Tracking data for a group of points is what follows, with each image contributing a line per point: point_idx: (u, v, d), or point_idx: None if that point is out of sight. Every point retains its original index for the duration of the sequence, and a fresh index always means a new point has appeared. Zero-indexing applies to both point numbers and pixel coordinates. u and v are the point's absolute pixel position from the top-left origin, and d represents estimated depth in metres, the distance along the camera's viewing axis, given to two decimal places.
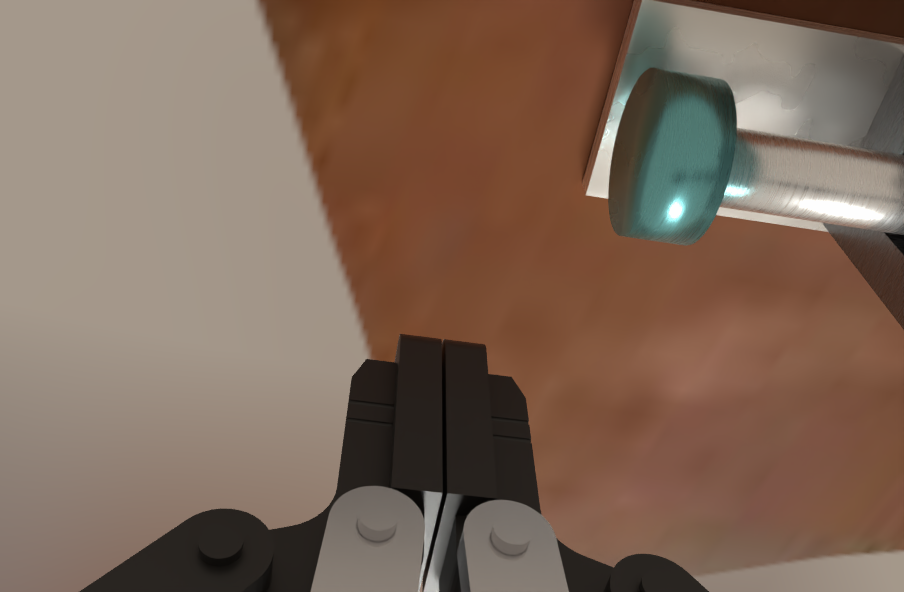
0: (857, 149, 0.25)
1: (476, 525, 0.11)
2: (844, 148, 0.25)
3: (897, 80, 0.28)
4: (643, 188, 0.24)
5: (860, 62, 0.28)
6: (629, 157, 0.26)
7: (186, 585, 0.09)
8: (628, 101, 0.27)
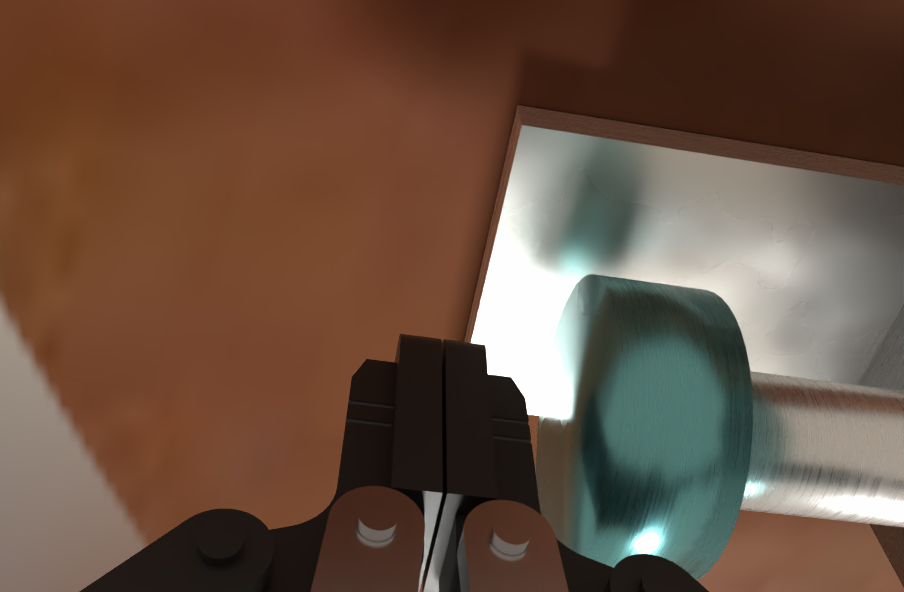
0: None
1: (476, 525, 0.11)
2: None
3: None
4: (582, 510, 0.13)
5: (887, 220, 0.17)
6: (565, 418, 0.15)
7: (185, 585, 0.09)
8: (566, 308, 0.16)
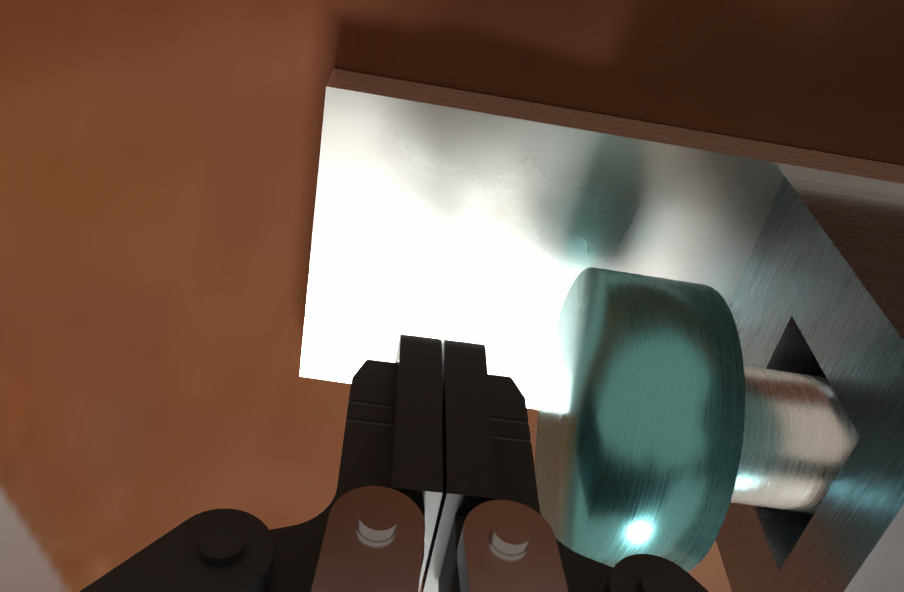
0: None
1: (476, 525, 0.11)
2: None
3: (773, 220, 0.17)
4: (576, 500, 0.13)
5: (711, 190, 0.17)
6: (562, 409, 0.15)
7: (186, 585, 0.09)
8: (566, 302, 0.16)
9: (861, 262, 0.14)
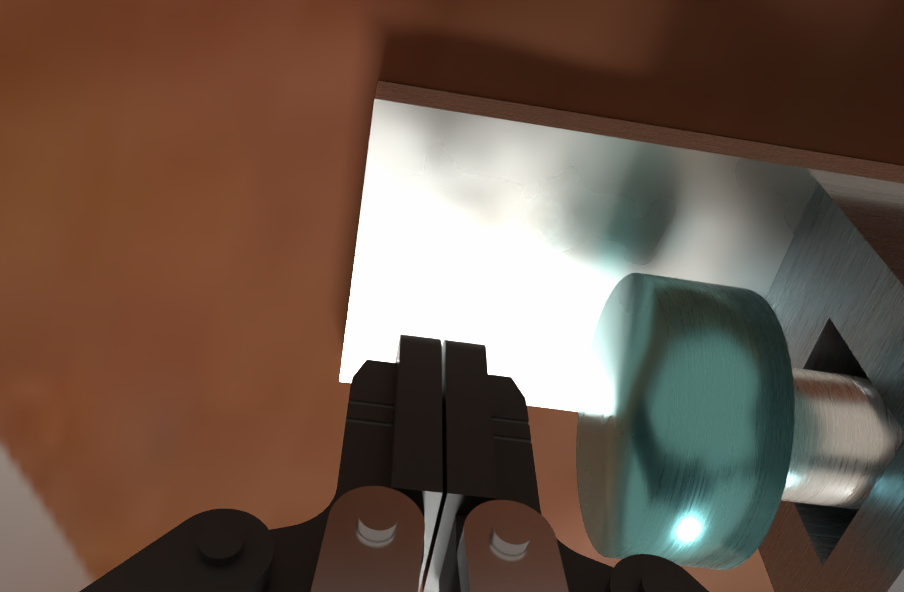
0: None
1: (476, 525, 0.11)
2: None
3: (807, 224, 0.17)
4: (628, 498, 0.14)
5: (746, 195, 0.17)
6: (607, 410, 0.15)
7: (185, 585, 0.09)
8: (607, 306, 0.16)
9: (900, 266, 0.14)
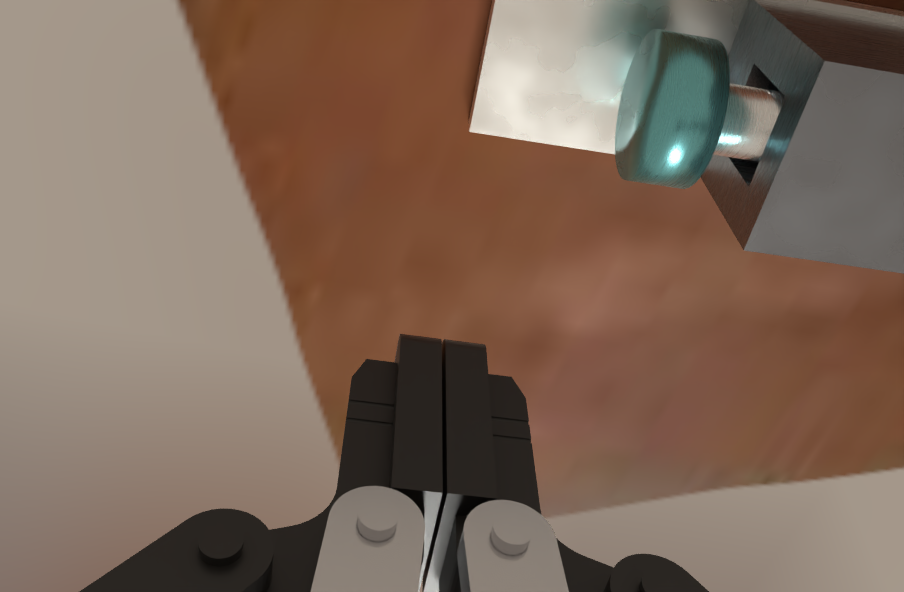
0: None
1: (476, 525, 0.11)
2: None
3: (744, 21, 0.30)
4: (648, 135, 0.27)
5: (710, 4, 0.30)
6: (634, 110, 0.29)
7: (186, 585, 0.09)
8: (633, 61, 0.30)
9: (787, 23, 0.28)
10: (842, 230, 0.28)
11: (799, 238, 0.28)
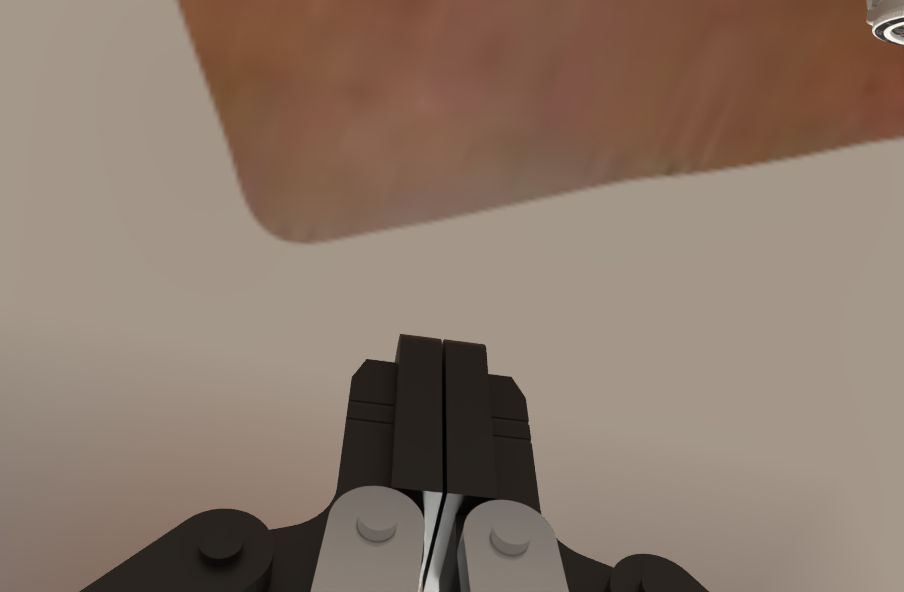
0: None
1: (476, 525, 0.11)
2: None
3: None
4: None
5: None
6: None
7: (186, 585, 0.09)
8: None
9: None
10: None
11: None
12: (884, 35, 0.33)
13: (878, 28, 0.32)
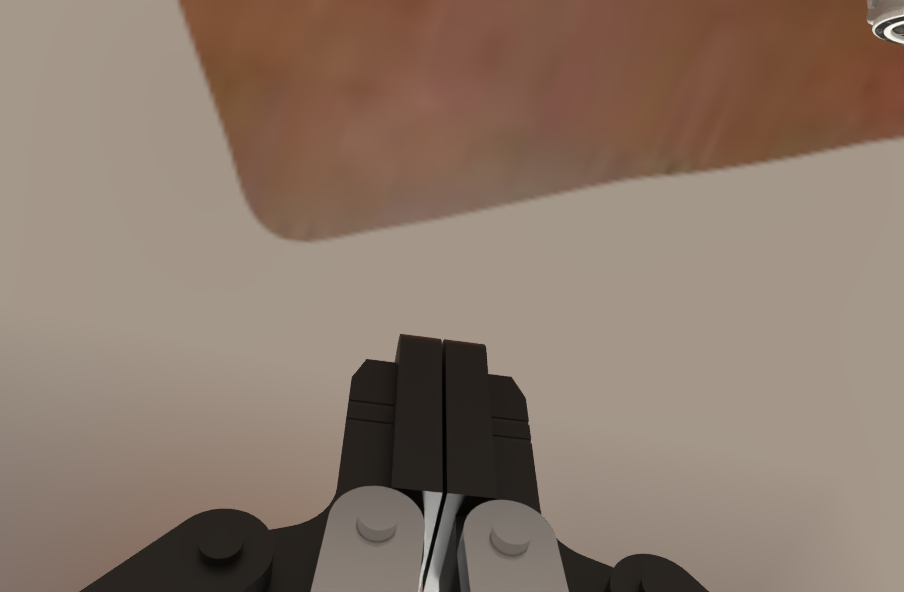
0: None
1: (476, 525, 0.11)
2: None
3: None
4: None
5: None
6: None
7: (186, 585, 0.09)
8: None
9: None
10: None
11: None
12: (884, 34, 0.33)
13: (878, 27, 0.32)
